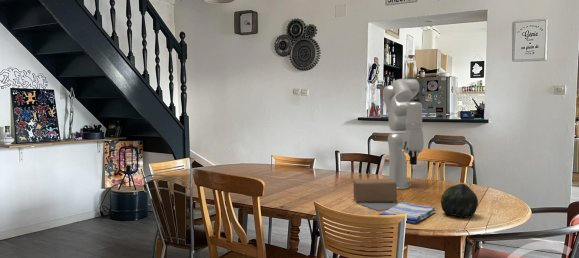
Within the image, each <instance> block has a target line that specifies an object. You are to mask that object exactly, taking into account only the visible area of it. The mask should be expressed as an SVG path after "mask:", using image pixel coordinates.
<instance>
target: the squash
mask: <svg viewBox="0 0 579 258" xmlns="http://www.w3.org/2000/svg"><path fill="white" fill-rule="evenodd" d="M440 206H441V210H442V211H443V212H444V213H445V214H446V215H450V216H454V215H455V216H459V217H461V218H470V217H472V216H473V215H475V213H476V211H477V208H478V206H479V200H478V196H477V194H476V193H475V192H474V191H473V190H472V189H471V188H470V187H469V186H468V185H467V184H465V183H459V184H456V185H452V186H450V187H448V188H446V189H445V190H444V191H443V193H442V195H441V198H440Z"/></svg>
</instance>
